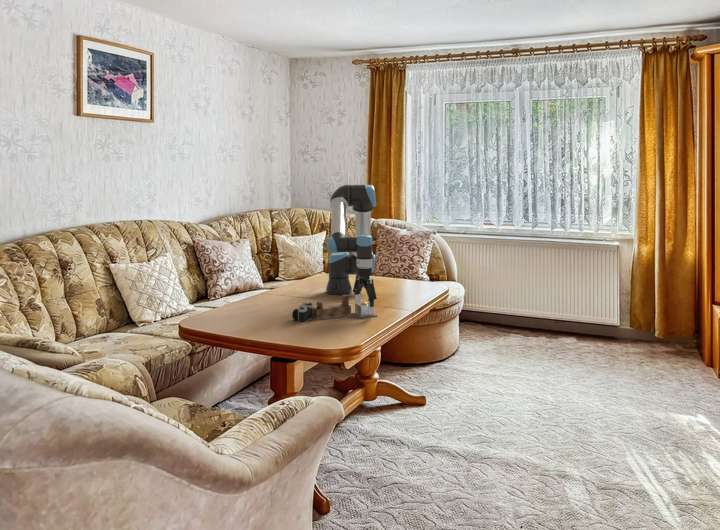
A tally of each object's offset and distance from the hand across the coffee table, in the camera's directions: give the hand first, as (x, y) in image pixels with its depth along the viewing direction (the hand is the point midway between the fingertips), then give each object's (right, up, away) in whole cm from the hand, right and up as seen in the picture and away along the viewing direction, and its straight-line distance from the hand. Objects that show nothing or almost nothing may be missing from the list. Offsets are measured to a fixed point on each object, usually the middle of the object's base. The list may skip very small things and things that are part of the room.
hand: (364, 310), depth 280 cm
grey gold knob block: (0, -2, 0) cm, 2 cm away
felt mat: (0, -2, 0) cm, 2 cm away
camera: (-30, -4, -8) cm, 31 cm away
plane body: (-16, -3, -1) cm, 16 cm away
